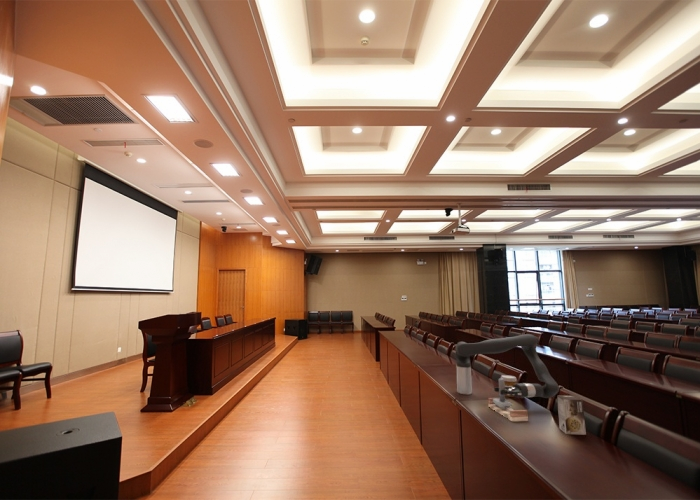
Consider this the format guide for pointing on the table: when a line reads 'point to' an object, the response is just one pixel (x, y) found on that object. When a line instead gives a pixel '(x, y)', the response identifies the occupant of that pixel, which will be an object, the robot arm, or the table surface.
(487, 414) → the table surface
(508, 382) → the disposable coffee cup
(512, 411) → the rail bed
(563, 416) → the coffee box
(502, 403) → the carriage
